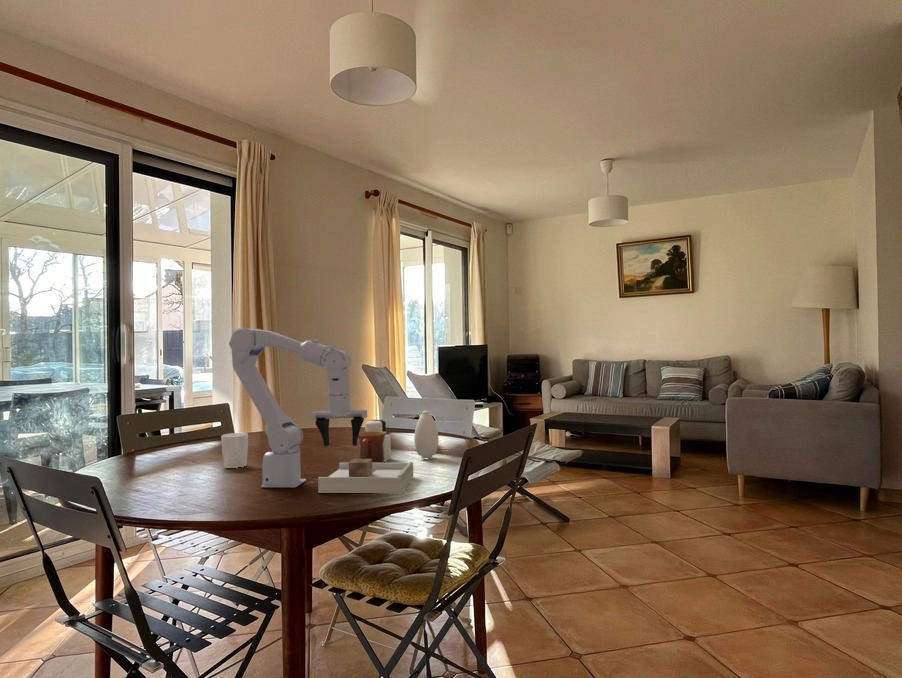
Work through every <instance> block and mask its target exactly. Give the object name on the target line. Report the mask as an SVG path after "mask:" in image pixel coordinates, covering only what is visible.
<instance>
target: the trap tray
mask: <svg viewBox="0 0 902 678" xmlns="http://www.w3.org/2000/svg"><path fill="white" fill-rule="evenodd" d="M338 466H339V467H338V469H337V470H336V471H334V472H333V473H331V474H330V475H329V476H318V479H317V483H318V486H317V487H318V488H317V489H318V493H387V494H386V495H401V494H402V493H403V492H404V490H405V489H406V487H407V486H408V485H409V483H410V482H411V481H412V479H413V478H414V462H413V461H409V462H385V463H372V474H371V475H370V476H369V477H349V462H339V463H338ZM412 477H413V478H412ZM410 480H411V481H410ZM409 481H410V482H409ZM407 484H408V485H407ZM406 485H407V486H406ZM404 488H405V489H404ZM403 489H404V490H403ZM401 492H402V493H401ZM388 493H389V494H388Z"/></svg>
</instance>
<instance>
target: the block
mask: <svg viewBox="0 0 902 678" xmlns="http://www.w3.org/2000/svg"><path fill="white" fill-rule="evenodd" d="M348 463H349V477H369V476H370V475H371V474H372V459H360V458H353V459H352V460H350V461H349V462H348Z"/></svg>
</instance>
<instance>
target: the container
mask: <svg viewBox="0 0 902 678" xmlns="http://www.w3.org/2000/svg"><path fill="white" fill-rule="evenodd" d="M364 425H365V427H364V430H365V431H364V432H369V431H380V432H385V433H386V435H385V438H384V462H385V463H387V462H388V461H389V460H390V459H391V458H392V453H391V451H392V449H391V446H392V445H391V435H390V434H387V423H386V421H385V420H383V419H370V420H367V421H365V423H364ZM388 459H389V460H388ZM387 460H388V461H387Z"/></svg>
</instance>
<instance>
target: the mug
mask: <svg viewBox="0 0 902 678" xmlns="http://www.w3.org/2000/svg"><path fill="white" fill-rule="evenodd" d="M385 435H387V432H386V433H385V432H380V431H369V432H365V431H362V432H359V435H358V445H359V459H372V463H384V438H385Z"/></svg>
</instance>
